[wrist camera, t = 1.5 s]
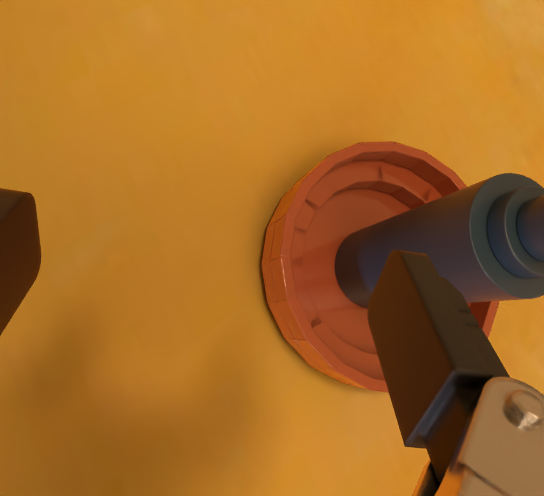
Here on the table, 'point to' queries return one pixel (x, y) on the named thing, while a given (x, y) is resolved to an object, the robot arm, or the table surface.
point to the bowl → (324, 245)
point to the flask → (459, 242)
